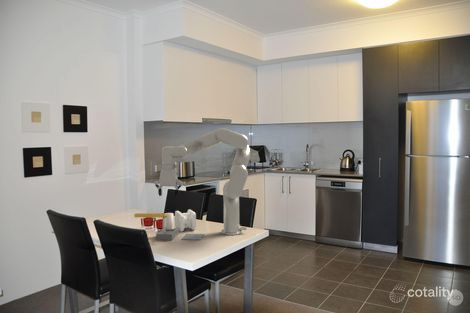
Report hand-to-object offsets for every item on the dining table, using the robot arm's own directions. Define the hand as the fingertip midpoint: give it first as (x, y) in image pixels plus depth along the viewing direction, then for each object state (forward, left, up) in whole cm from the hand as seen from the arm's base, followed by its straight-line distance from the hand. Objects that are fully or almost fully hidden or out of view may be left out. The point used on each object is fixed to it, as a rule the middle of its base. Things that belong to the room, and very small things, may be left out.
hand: (168, 195), depth 224 cm
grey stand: (0, +3, -24) cm, 24 cm away
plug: (0, 0, -24) cm, 24 cm away
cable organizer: (-6, -15, -24) cm, 29 cm away
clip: (+7, +11, -10) cm, 17 cm away
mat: (-15, +3, -24) cm, 28 cm away
